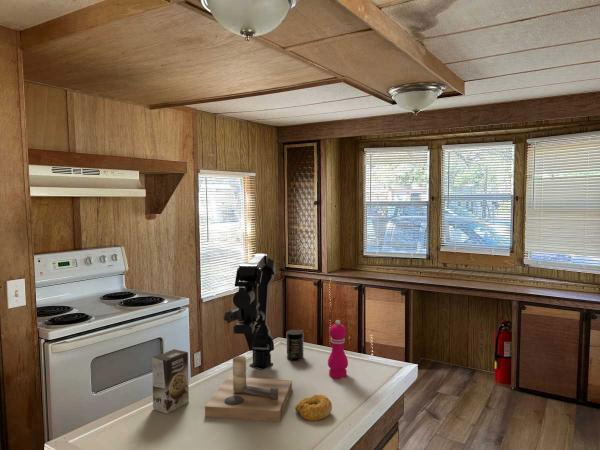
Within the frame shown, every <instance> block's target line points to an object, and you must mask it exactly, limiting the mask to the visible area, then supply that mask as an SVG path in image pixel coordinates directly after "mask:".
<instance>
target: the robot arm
mask: <svg viewBox="0 0 600 450" xmlns="http://www.w3.org/2000/svg"><path fill="white" fill-rule="evenodd" d="M276 271H277V268H276V264H275V261H274V260H272V259H271V258H270V257H269V255H268V254H267V253H255V254H253V257H252V258H251V260H249V262H247V263H245V262H244V263H242V264H241V263H240V264H239V266H238V267H237V269H236V275H235V279H234V280H235V281H234V287H238V290H237V291H236V292H235V293H234V295H233V297H232V303H233V305H234V306H235V307H236V308H234V309H229V310H228V311H225V312H224V314H223V321H225V322H226V324H230V323H231V322H235V321H238V322H237V323H236V324H235V325H234V326H233V329H232V331H233V334H235V335H244V337H245V341H246V344H247V347H248V351H249V352H252V363H250V364H249V366H250V367H252V368H256V369H259V370H264V369H266V368H269V367H270V366H273V365H274V363H273V362H272V354H271V352H272V351H274V350H275V344H274V339H273V336H272V334H271V333H272V332H271V329H270V327H269V325H268V312H269V298H270V297H269V296H270V286H271V284H272V283H273V282H274V281H275V279H274V278H275V275H276V273H277V272H276Z"/></svg>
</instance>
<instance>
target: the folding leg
mask: <svg viewBox="0 0 600 450" xmlns="http://www.w3.org/2000/svg"><path fill="white" fill-rule="evenodd" d="M232 377H233V391H234V392H237V393H241V392H245V393H251V394H256V395H261V396H266V397H270V398H271V399H278V388H276V387H273V388H270V390H268V389H263V388H257V387H252V386H247V385H246V378H247V358H246V357H245V356H241V355H239V356H234V357H233V358H232Z"/></svg>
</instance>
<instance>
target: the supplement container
mask: <svg viewBox="0 0 600 450" xmlns="http://www.w3.org/2000/svg"><path fill="white" fill-rule="evenodd" d="M285 338H286V358H287V360H290V361H293V362H294V361H295V362H296V361H300V360H302V359H303V358H304V331H303V330H300V329H289V330H287V331H286V336H285Z"/></svg>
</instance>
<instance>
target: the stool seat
mask: <svg viewBox="0 0 600 450" xmlns="http://www.w3.org/2000/svg"><path fill="white" fill-rule="evenodd" d="M246 385H247V386H252V387H257V388H263V389H268V390H270V388H273V387H276V388H278V399H271V398H270V397H266V396H261V395H256V394H251V393H245V392H241V393H237V392H234V391H233V376H227V377H226V378H225V380H224V381H223V382H222V384H221V385H220V386H219V387H218V389H217V390H216V391H215V393H214V394H213V396H212V397H210V398H209V400H208V402H207V403H206V404H205V405H204V417H211V418H225V419H226V418H227V419H241V420H253V421H267V422H268V421H269V422H280V420H281V418H282V416H283V413H284V410H285V408H286V405H287V403H288V400H289V398H290V395H291V393H292V390H293V380H292V379H281V378H280V379H279V378H278V379H277V378H261V377H246Z"/></svg>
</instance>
